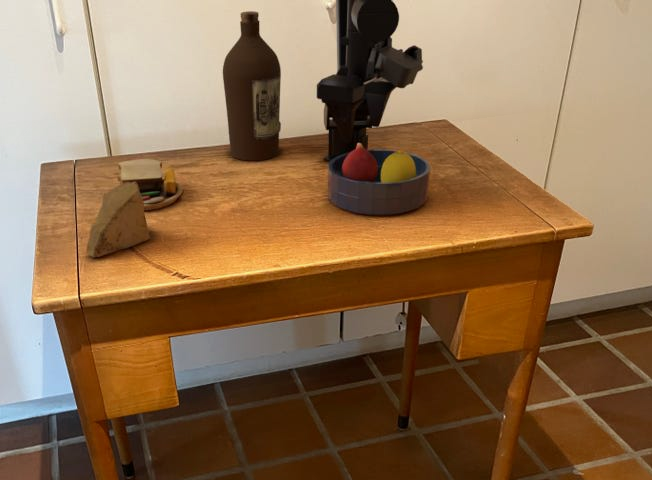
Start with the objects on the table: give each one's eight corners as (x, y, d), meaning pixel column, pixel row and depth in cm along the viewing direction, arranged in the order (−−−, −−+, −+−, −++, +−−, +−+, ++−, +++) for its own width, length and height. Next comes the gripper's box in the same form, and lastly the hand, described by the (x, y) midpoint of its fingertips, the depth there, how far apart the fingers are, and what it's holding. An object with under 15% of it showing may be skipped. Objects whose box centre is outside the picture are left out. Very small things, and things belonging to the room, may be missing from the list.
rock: (84, 254, 102) (154, 235, 103) (67, 196, 103) (136, 177, 104) (93, 268, 113) (156, 250, 114) (77, 215, 113) (140, 198, 114)
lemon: (413, 206, 117) (417, 156, 112) (378, 204, 118) (381, 155, 113) (414, 193, 121) (418, 145, 117) (380, 191, 122) (383, 144, 118)
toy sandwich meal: (104, 214, 120) (100, 186, 117) (114, 184, 131) (110, 158, 128) (181, 210, 120) (178, 183, 117) (184, 181, 131) (182, 155, 129)
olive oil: (216, 154, 143) (206, 14, 129) (255, 141, 149) (250, 5, 135) (254, 166, 136) (248, 20, 122) (293, 152, 142) (292, 11, 128)
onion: (379, 186, 125) (382, 139, 120) (372, 198, 120) (375, 150, 116) (345, 183, 126) (347, 136, 122) (337, 195, 122) (339, 147, 117)
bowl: (309, 204, 120) (309, 171, 117) (358, 174, 131) (359, 143, 128) (398, 225, 112) (401, 191, 109) (443, 191, 123) (446, 159, 120)
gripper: (385, 45, 99) (378, 159, 107) (443, 22, 111) (433, 126, 120) (314, 38, 104) (314, 147, 113) (377, 17, 117) (372, 117, 125)
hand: (361, 134), depth 118 cm, fingers open, 9 cm apart
